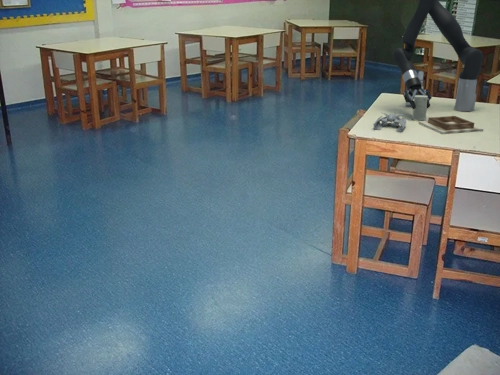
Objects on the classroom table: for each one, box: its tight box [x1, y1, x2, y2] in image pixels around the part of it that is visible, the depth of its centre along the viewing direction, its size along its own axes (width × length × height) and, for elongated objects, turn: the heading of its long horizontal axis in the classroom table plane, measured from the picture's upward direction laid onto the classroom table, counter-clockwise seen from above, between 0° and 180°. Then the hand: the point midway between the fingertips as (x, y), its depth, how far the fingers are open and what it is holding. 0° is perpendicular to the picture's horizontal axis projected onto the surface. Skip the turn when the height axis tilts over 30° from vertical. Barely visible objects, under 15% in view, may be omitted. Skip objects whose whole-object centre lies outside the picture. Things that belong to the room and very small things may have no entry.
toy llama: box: [405, 70, 425, 107], centre depth 297 cm, size 8×18×20 cm, turn 157°
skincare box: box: [412, 95, 428, 122], centre depth 267 cm, size 6×4×12 cm
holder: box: [418, 115, 484, 135], centre depth 254 cm, size 22×20×4 cm
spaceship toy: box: [373, 112, 407, 133], centre depth 253 cm, size 14×20×6 cm
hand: (421, 107), depth 265 cm, fingers open, 7 cm apart
